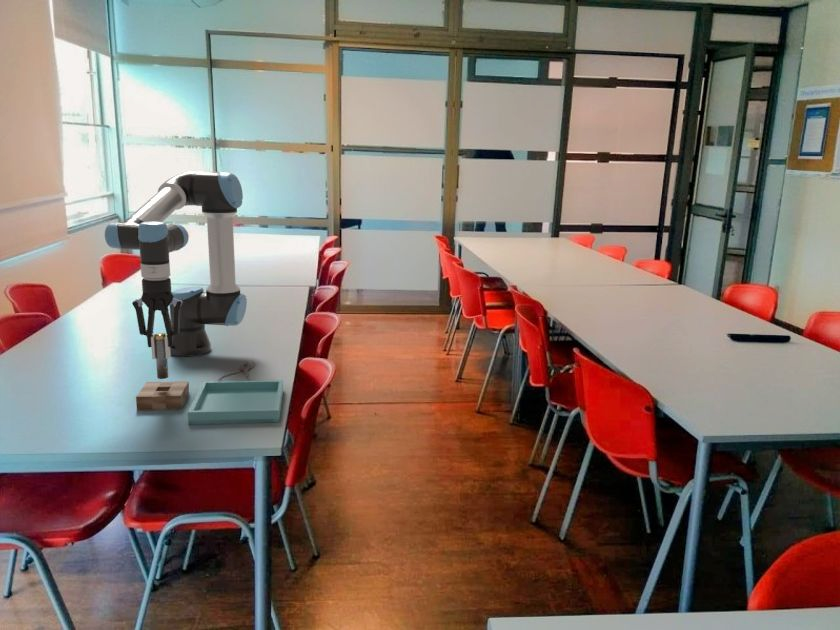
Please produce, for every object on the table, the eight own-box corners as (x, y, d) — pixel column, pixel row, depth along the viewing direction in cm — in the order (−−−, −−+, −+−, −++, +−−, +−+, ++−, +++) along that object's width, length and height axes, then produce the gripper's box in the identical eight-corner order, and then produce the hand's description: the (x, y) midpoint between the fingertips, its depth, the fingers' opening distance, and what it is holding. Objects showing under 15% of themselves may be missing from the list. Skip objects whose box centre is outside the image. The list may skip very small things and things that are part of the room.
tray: (203, 392, 197) (202, 381, 196) (283, 390, 201) (283, 380, 200) (188, 424, 174) (187, 412, 174) (278, 422, 178) (278, 410, 177)
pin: (158, 375, 189) (155, 332, 185) (169, 375, 189) (166, 332, 186) (156, 379, 186) (153, 335, 183) (167, 378, 186) (164, 335, 183)
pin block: (147, 394, 194) (146, 382, 193) (189, 393, 196) (188, 381, 195) (136, 410, 182) (135, 396, 181) (181, 409, 184) (180, 395, 183)
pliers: (216, 382, 205) (227, 362, 224) (216, 385, 205) (227, 364, 224) (247, 382, 206) (255, 362, 225) (247, 385, 206) (255, 364, 225)
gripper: (121, 280, 175) (128, 362, 181) (183, 280, 178) (188, 361, 184) (129, 275, 182) (135, 353, 188) (188, 275, 185) (192, 353, 191)
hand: (161, 357), depth 186 cm, fingers closed on pin, 3 cm apart
